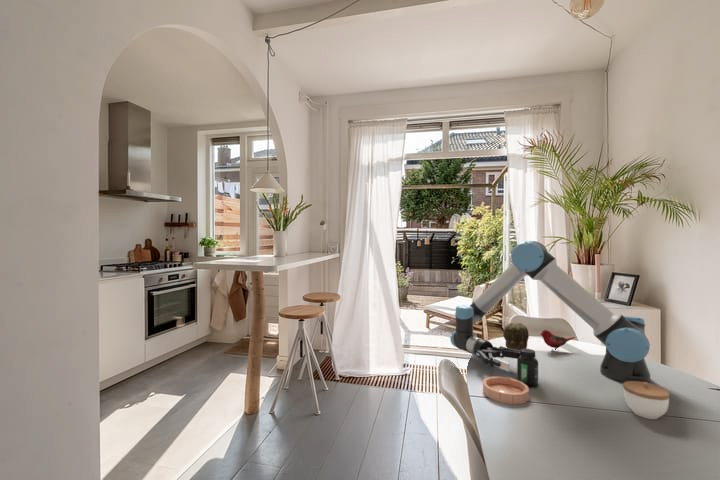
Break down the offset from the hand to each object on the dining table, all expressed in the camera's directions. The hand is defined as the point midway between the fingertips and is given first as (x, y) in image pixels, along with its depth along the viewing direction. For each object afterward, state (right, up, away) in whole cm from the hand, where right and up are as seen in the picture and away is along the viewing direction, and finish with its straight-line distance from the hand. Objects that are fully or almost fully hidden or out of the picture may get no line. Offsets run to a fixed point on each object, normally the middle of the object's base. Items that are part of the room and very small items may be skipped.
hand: (522, 364), depth 125 cm
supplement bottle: (+1, -6, -2) cm, 7 cm away
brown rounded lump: (+15, -6, +38) cm, 42 cm away
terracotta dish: (-10, -6, -10) cm, 16 cm away
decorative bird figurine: (+33, -6, +35) cm, 49 cm away
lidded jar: (+26, -7, -22) cm, 35 cm away
